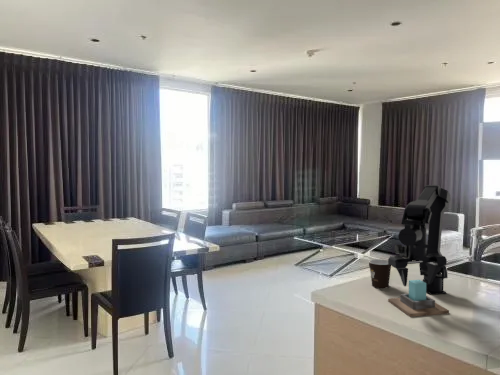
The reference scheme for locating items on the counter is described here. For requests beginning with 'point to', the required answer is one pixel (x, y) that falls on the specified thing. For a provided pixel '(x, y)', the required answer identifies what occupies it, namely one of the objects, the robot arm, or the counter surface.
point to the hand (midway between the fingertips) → (417, 285)
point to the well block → (417, 306)
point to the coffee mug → (380, 273)
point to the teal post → (417, 290)
